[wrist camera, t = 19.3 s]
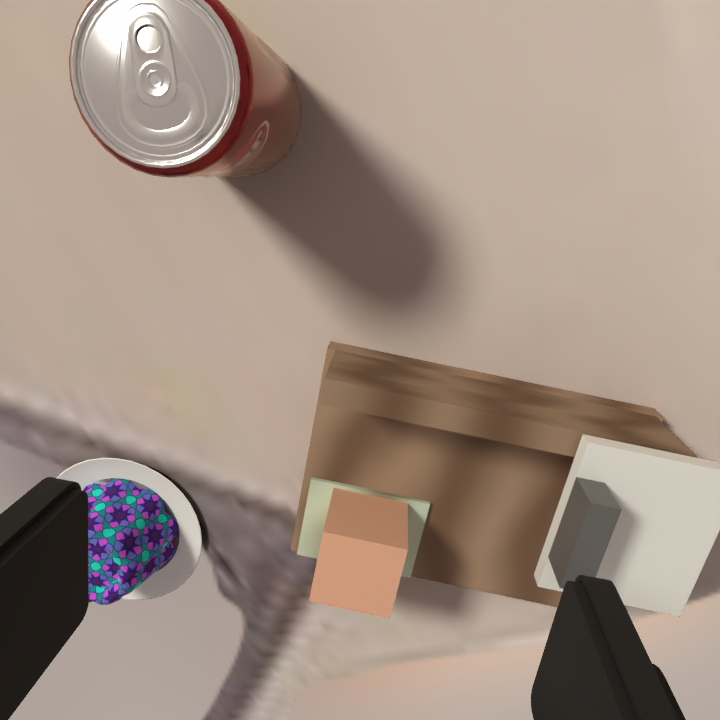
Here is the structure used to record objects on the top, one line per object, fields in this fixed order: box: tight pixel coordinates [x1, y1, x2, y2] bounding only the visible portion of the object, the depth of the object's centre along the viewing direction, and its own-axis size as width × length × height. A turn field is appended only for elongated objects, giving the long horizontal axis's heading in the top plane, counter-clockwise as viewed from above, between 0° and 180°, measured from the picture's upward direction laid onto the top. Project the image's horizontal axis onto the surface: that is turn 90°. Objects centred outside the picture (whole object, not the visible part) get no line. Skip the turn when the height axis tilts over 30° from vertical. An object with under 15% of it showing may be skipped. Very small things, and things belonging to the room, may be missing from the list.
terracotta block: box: [309, 487, 408, 618], centre depth 37 cm, size 5×5×5 cm
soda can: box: [69, 0, 301, 177], centre depth 28 cm, size 7×7×12 cm
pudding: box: [57, 458, 202, 605], centre depth 41 cm, size 12×12×5 cm
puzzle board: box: [291, 342, 696, 607], centre depth 36 cm, size 21×15×7 cm
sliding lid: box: [534, 434, 720, 617], centre depth 30 cm, size 8×9×4 cm
